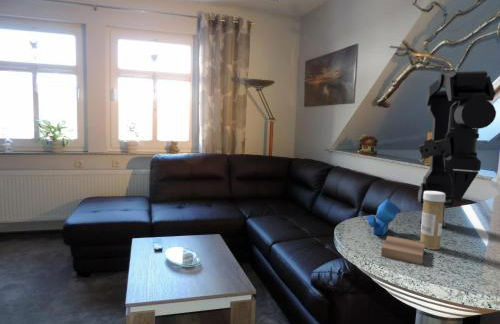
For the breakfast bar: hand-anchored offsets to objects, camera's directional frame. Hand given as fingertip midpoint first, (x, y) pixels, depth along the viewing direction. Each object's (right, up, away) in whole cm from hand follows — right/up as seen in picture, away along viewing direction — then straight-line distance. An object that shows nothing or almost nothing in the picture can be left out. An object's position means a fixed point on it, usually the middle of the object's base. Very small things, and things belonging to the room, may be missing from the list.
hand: (456, 196), depth 75 cm
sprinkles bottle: (-4, -13, +4) cm, 14 cm away
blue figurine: (-12, -11, +14) cm, 21 cm away
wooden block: (-12, -13, -1) cm, 18 cm away
